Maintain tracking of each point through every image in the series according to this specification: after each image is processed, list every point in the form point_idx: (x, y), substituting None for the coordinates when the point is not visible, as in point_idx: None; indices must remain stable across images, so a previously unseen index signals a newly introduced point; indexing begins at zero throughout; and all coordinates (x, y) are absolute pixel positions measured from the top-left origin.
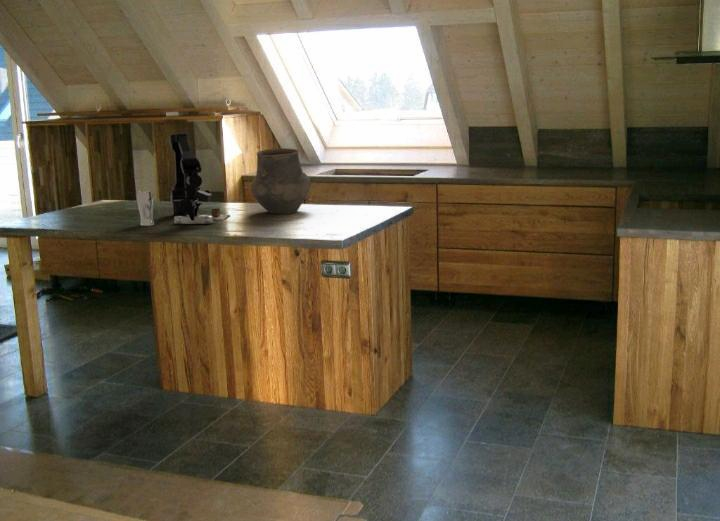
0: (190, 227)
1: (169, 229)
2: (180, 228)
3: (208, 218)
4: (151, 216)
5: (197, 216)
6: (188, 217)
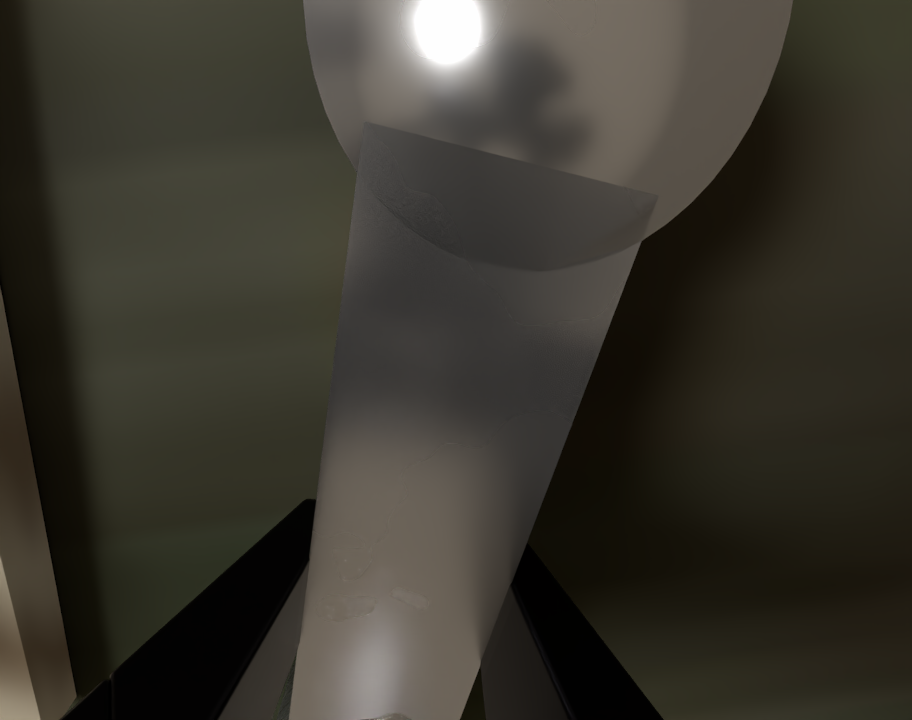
0: (872, 466)
1: (863, 697)
2: (872, 594)
3: (749, 23)
4: None
5: (407, 513)
6: (468, 686)
